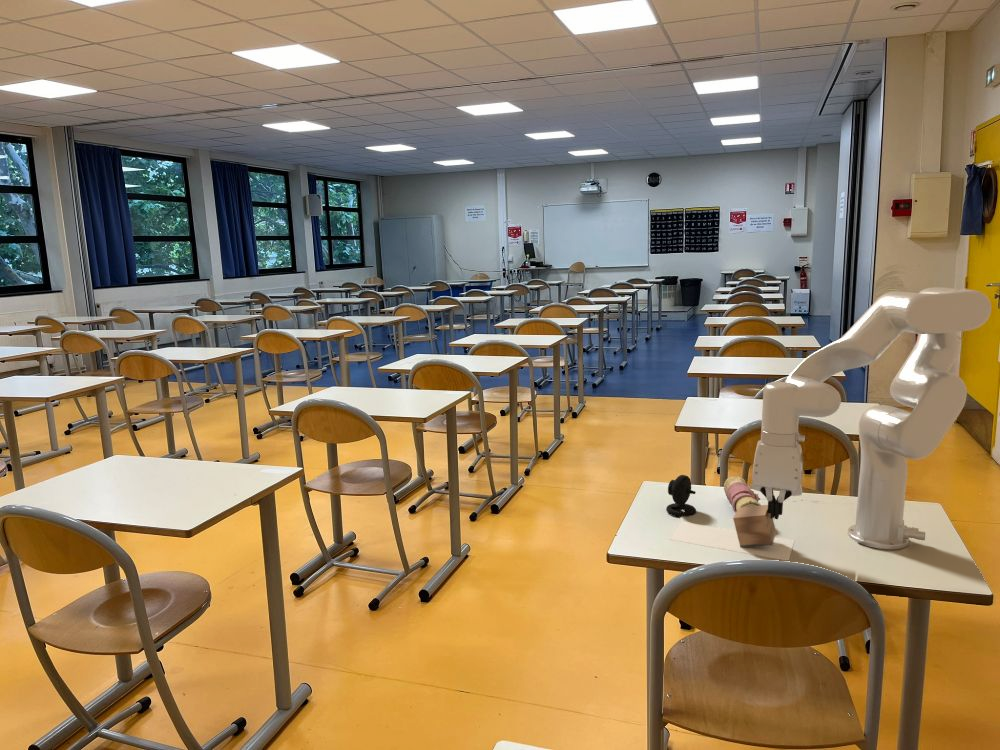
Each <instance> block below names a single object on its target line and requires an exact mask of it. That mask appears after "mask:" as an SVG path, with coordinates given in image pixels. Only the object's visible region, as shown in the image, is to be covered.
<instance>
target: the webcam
mask: <svg viewBox="0 0 1000 750" xmlns="http://www.w3.org/2000/svg"><path fill="white" fill-rule="evenodd" d="M667 493H668V495H669V496H672V501H673V502H674V503H670V504H668V505H667V506H666V509H665V511H666V512H667V514H669V515H671V516H674V517H678V518H682V517H692V516H694V515H695V514H696V513H697V510H696V508H695V507H694V506H693V505H691V504H688V503H687V501H688V500H689V499H690V496H691V495H696V493H697V492H696V491H695V490H692V481H691V478H690V477H689V476H688V475H685V474H680V475H679V476H677V477H676V479H671V480H670V482H669V483H668V487H667ZM675 508H676V509H679V510H680V511H679V510H676V509H675ZM681 510H682V511H681Z"/></svg>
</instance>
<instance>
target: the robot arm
mask: <svg viewBox="0 0 1000 750" xmlns="http://www.w3.org/2000/svg"><path fill="white" fill-rule="evenodd" d="M991 313H992V304H991V300H990V299H989V297H988V296H987V295H986V294H985V293H983V292H981V291H978V290H977V289H976V290H975V289H965V288H953V287H942V286H941V287H939V286H938V287H933V286H932V287H927V288H924V289H922V290H920V291H919V292H911V291H909V292H908V291H890V292H886V293H883V295H881V296H879V297H878V298H877V299H876V300H875V301H874V302H873V304H871V306H870V307H869V308H868V309H867V310H866V311H865V312H864V313H863V314H862V315H861V316H860V318H859V319H857V321H856V322H854V324H853V325H852V326H851V327H850V328H849V329H848V330H847V331H846V332H845V333H844V334H843V335H842V336H841V337H840V338H838V339H837V340H835V341H832V342H831V343H829V344H827V345H825V346H823V347H822V348H820V349H818V350H817V351H816V350H815V352H813V353H811V354H809V356H807V357H806V358H805V359H803V360H802V361H801V362H800V363H799V364H798V365H797V366H796V367H795V368H794V369H793V370H792V371H791V372H790V374H789V375H788V376H787V378H786V379H785V380H784V381H771V382H768V383H766V384H765V385H764V387H763V390H762V391H763V392H762V394H763V395H762V411H761V412H762V413H761V430H760V439H759V440H757V443H756V448H755V452H754V456H753V457H754V459H753V466H752V476H751V480H752V482H751V484H750V489H751V490H753V491H757V492H760V493H761V494H762V495H763V496H764V497H765V499H766V501H767V505H768V513H770V518H772V519H773V520H774V519H775V520H778V519H779V516H782V515H783V510H784V508H783V507H784V501H786V500H787V499H789V498H790V497H797V496H802V494H803V488H802V482H803V465H804V464H803V450H802V445H801V444H800V443H801V442H805V439H806V435H804V434H803V435H802V434H800V433H799V423H800V421H799V420H800V417H801V416H802V417H813V418H825V417H826V418H827V417H829V416H832V415H834V414H835V413H836V412H837V411H838V410H839V409H840V406H841V404H842V398H841V393H840V391H838V390H837V389H836V388H835V387H834V386H832V385H831V384H828V383H826V382H825V381H826V380H828V379H829V378H831V377H832V376H834V375H836V374H838V373H840V372H844V371H848V370H852V369H857V368H863V367H865V366H869V365H871V364H874V363H875V362H877V360H878V359H879V358H880V357H881V356H882V355H883V354H884V353H885V351H886V350H887V349H888V348H890V346H891V345H892V344H893V343H894V342H895V341H896V340H897V339H898V338H899V337H900V336H901V334H903V333H910V334H915V335H916V334H917V340H916V342H915V344H914V346H913V348H912V350H911V352H910V353H909V354H908V356H907V357H906V360H905V361H904V362H903V364H902V366H900V369H899V370H898V372H897V373H896V375H895V376H894V378H893V380H892V382H891V383H890V387H889V393H890V396H891V397H892V399H893V400H894V401H896V402H897V403H899V404H901V405H903V406H906V407H909V408H912V409H913V410H912V411H907V410H905V409H902V408H898V407H896V406H891V405H887V404H878V405H877V404H876V405H873V406H870V407H869V408H867V409H866V410H865V411H864V412H863V413H862V414H861V417H860V419H859V421H858V435H859V437H858V438H859V443H860V467H859V476H858V477H859V479H858V489H857V491H858V492H857V500H856V501H857V503H856V517H855V524H853V525H851V526H849V527H848V529H847V536H848V537H849V538H850V539H851V540H853V541H855V542H857V544H860V545H863V546H865V547H870V548H874V549H879V550H900V549H904V548H906V547H908V546H909V542H910V539H915V540H919V541H926V531H921V530H920V531H919V527H918V528H917V527H911V526H909V527H908V526H907V525H906V524H905V521H904V512H905V511H904V510H905V501H906V500H905V499H906V489H907V482H908V481H907V478H908V472H909V471H908V470H909V469H908V459H910V460H921V459H925V458H927V457H928V456H930V455H932V453H933V452H934V451H936V449H937V448H938V446H939V445H940V443H941V442H942V441H943V439H944V438H945V436H946V435H947V433H948V432H949V430H950V429H951V427H953V425H954V423H955V422H956V420H957V419H958V417H959V416H960V414H961V412H962V410H963V408H964V407H965V405H966V401H967V397H968V390H967V387H966V386H967V385H966V384H965V382H964V380H963V379H962V378H961V377H960V376H958V375H957V374H955V373H952V372H950V371H951V368H952V367H953V365H954V363H955V362H956V360H957V358H958V355H959V351H960V343H959V336H958V333H959V332H967V331H973V330H976V329H978V328H980V327H982V326H983V325H985V323H986V322H987V321H988V320H989V318H990V316H991ZM774 490H779V494H778V496H777V497H776V496H775V494H774V493H775V492H774Z"/></svg>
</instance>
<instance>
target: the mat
mask: <svg viewBox="0 0 1000 750" xmlns="http://www.w3.org/2000/svg"><path fill="white" fill-rule="evenodd" d="M669 540H670V541H675V542H681V543H687V544H693V545H698V546H704V547H709V548H713V549H714V548H715V549H721V550H727V551H731V552H736V553H737V552H738V553H741V554H748V555H754V556H759V557H764V558H768V559H769V558H770V559H776V560H780V559H781V560H782V561H786V560H789V561H790V558H791V554H792V550H793V547H794V543H795V539H788V538H784V537H777V536H775V539H774V542H773V545H767V546H754V547H740V544H739V540H738V536H737V532H736V529H729V528H724V527H718V526H712V525H707V524H705V525H704V524H700V523H693V522H688V521H687V522H686V521H681V523H680V524H679V525H678V527H677V528H676V530H675V531H674V532H673V534H672V535H671V537H670V538H669Z"/></svg>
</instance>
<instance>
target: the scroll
mask: <svg viewBox="0 0 1000 750" xmlns="http://www.w3.org/2000/svg"><path fill="white" fill-rule="evenodd" d="M723 491H724V494H725V496H726V499H727V501H728V502H729V504H730V505H731V507H732V508H733V509H732V510H733V512H734V513H735V514H736V512H737V510H738V508H741V507H751V506H761V503H760V502H759V501H760V500H761V498H760V497H759V493H755V492H754V490H753V489H752V488H751V487H749V486H748V483H747V481H746V480H745V479H744V478H742V477H740V476H737V475H736V476H730V477H729V478H726V479H725V481H724V484H723Z"/></svg>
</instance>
